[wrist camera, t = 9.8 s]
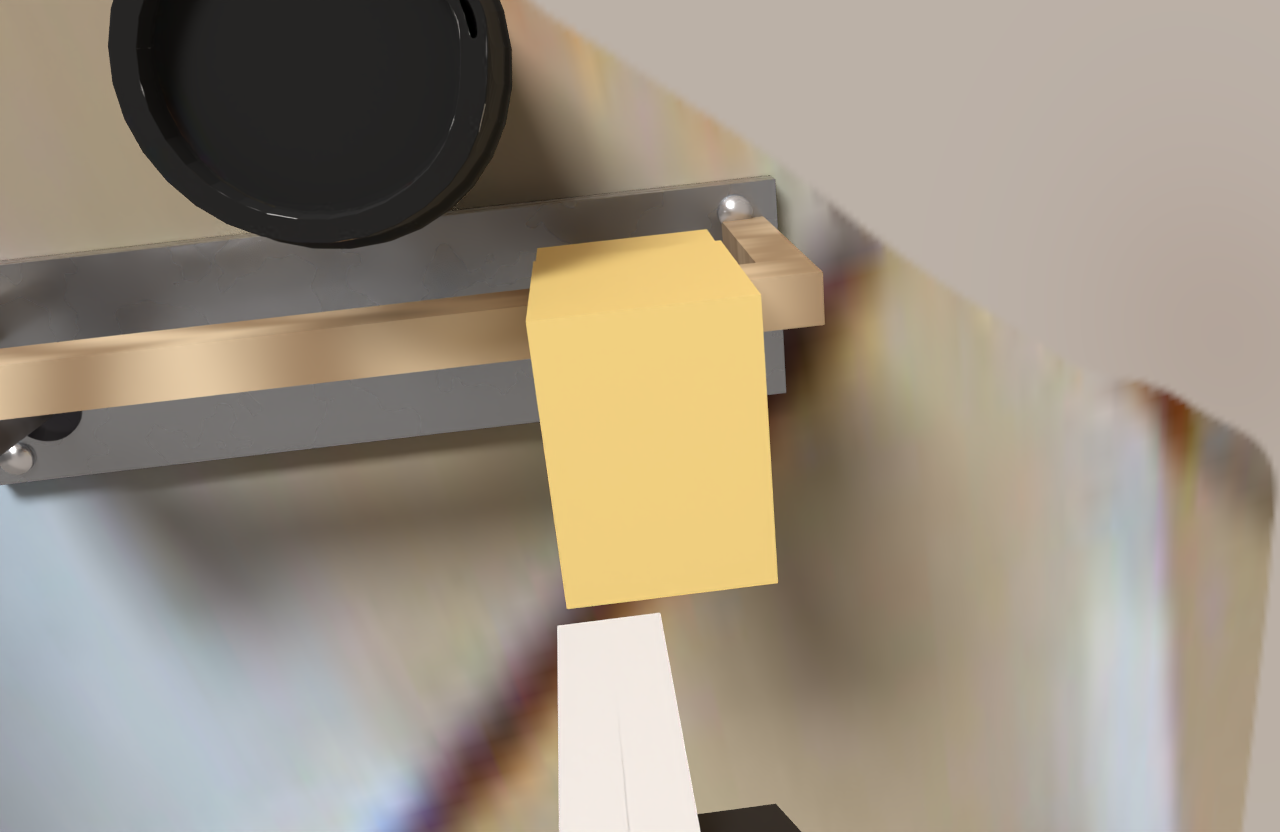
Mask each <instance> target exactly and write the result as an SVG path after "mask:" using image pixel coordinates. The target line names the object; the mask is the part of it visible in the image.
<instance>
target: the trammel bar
mask: <svg viewBox="0 0 1280 832" xmlns="http://www.w3.org/2000/svg"><path fill="white" fill-rule="evenodd" d="M722 237H723V244H724V245H725V247H726V248H727V249H728V251H729V252H730V253H731V255H732V256H733V258H734V259H735V260H736V262H737V263H738V264H739V266H740V267H741V268H742V270H743V271H744V272H745V274H746V275H747V276H748V278H749V279H750V280H751V282H752V283H753V284H754V286H755V287H756V288H757V290H758V291H759V292H760V294H761V301H762V318H763V332H766V331H775V330H784V329H792V328H801V327H810V326H818V325H825V321H824V293H823V272H822V271H821V270H820V269H819V268H818V267H817V266H816V265H815V264H814V263H813V262H811V261H810V260H809V259H808V258H807V257H806V256H805V255H804V254H803V253H802V252H801V251H800V250H799V249H798V248H797V247H795V246H794V245H793V244H792V243H791V242H790V241H789V240H788V239H787V238H786V237H785V236H784V235H783V234H782V233H781V232H779V231H778V230H777V229H776V228H775V227H774V226H773V225H772V224H771V223H770V222H769V221H768V220H767V219H766V218H765V217H763V216H761V217H752V218H751V219H744V220H735V221H726V222H722ZM529 292H530V288H529V289H520V290H512V291H503V292H494V293H485V294H476V295H468V296H459V297H450V298H441V299H432V300H424V301H415V302H406V303H397V304H388V305H380V306H371V307H362V308H353V309H344V310H336V311H327V312H318V313H309V314H300V315H291V316H283V317H274V318H265V319H256V320H247V321H239V322H230V323H221V324H212V325H203V326H195V327H186V328H177V329H168V330H159V331H151V332H142V333H133V334H124V335H115V336H107V337H98V338H89V339H80V340H71V341H63V342H54V343H45V344H36V345H27V346H19V347H10V348H1V349H0V420H1V421H0V456H1V455H2V454H4V453H5V452H6V451H8V450H9V449H10V448H12V447H13V446H14V445H16V444H17V443H18V442H20V441H21V440H22V439H24V438H25V437H26V436H27V435H29V434H30V433H31V432H33V431H34V430H35V429H37V428H38V427H39V426H41V425H42V424H43V423H45V422H46V421H47V420H49V419H50V418H51V417H52V416H53V415H54V414H57V413H66V412H75V411H83V410H92V409H101V408H109V407H118V406H126V405H135V404H144V403H152V402H161V401H170V400H178V399H187V398H196V397H204V396H213V395H222V394H230V393H239V392H248V391H256V390H265V389H273V388H282V387H291V386H299V385H308V384H317V383H325V382H334V381H343V380H351V379H360V378H369V377H377V376H386V375H395V374H403V373H412V372H420V371H429V370H438V369H446V368H455V367H464V366H472V365H481V364H490V363H498V362H507V361H516V360H524V359H531V355H530V348H529V341H528V334H527V328H526V315H527V307H528V299H529Z"/></svg>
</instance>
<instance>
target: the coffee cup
mask: <svg viewBox="0 0 1280 832" xmlns="http://www.w3.org/2000/svg"><path fill="white" fill-rule="evenodd" d="M108 49H109V57H110V66H111V74H112V82H113V86H114V89H115V92H116V95H117V98H118V101H119V104H120V107H121V110H122V113H123V116H124V119H125V121H126V123H127V125H128V126H129V128H130V130H131V132H132V133H133V135H134V137H135V139H136V141H137V142H138V144H139V146H140V148H141V149H142V151H143V153H144V154H145V155H146V156H147V158H148V159H149V160H150V161H151V162H152V164H153V165H154V166H155V167H156V168H157V170H158V171H159V172H160V173H161V174H162V176H163V177H164V178H165V179H166V180H167V182H169V183H170V184H171V185H172V186H173V187H175V188H176V189H177V190H178V191H179V192H180V193H182V194H183V195H184V196H185V197H186V198H187V199H189V200H190V201H191V202H192V203H193V204H194V205H196V206H197V207H199V208H201V209H203V210H204V211H206V212H208V213H209V214H211V215H213V216H214V217H216V218H218V219H220V220H221V221H223V222H225V223H226V224H229V225H231V226H234V227H237V228H240V229H242V230H245V231H248V232H250V233H253V234H256V235H259V236H261V237H267V238H269V239H272V240H274V241H277V242H282V243H287V244H292V245H297V246H303V247H308V248H313V249H353V248H359V247H364V246H370V245H375V244H381V243H386V242H390V241H393V240H395V239H398V238H400V237H403V236H405V235H408V234H410V233H413V232H415V231H417V230H420V229H422V228H424V227H425V226H427V225H428V224H430V223H431V222H433V221H434V220H436V219H437V218H439V217H440V216H442V215H443V214H445V213H446V212H448V211H449V210H450V209H451V208H452V207H453V206H454V205H455V204H456V203H457V202H458V201H459V200H460V199H461V198H462V197H463V196H464V195H465V194H466V193H467V192H468V191H469V190H470V189H471V188H472V187H473V186H474V185H475V183H476V182H477V180H478V179H479V177H480V176H481V174H482V173H483V171H484V169H485V168H486V166H487V165H488V163H489V162H490V160H491V159H492V157H493V155H494V152H495V150H496V147H497V145H498V142H499V139H500V137H501V134H502V132H503V129H504V126H505V124H506V119H507V113H508V107H509V102H510V96H511V90H512V49H511V44H510V39H509V34H508V29H507V24H506V19H505V14H504V10H503V7H502V5H501V2H500V0H113V3H112V7H111V14H110V27H109V41H108Z"/></svg>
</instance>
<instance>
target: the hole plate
mask: <svg viewBox="0 0 1280 832" xmlns="http://www.w3.org/2000/svg"><path fill="white" fill-rule="evenodd" d="M761 216H763V217H765V218H766V219H767V220H768V221H769V222H770V223H771V224H772V225H773V226H774V227H775V228H776V229H777V230H778V222H777V203H776V183H775V179H774V178H773V177H772V176H770V175H768V176H759V177H750V178H741V179H732V180H723V181H714V182H705V183H696V184H687V185H678V186H669V187H660V188H651V189H642V190H633V191H624V192H615V193H606V194H597V195H588V196H579V197H570V198H561V199H552V200H543V201H534V202H525V203H516V204H507V205H498V206H489V207H480V208H471V209H462V210H453V211H448V212H446V213H445V214H443V215H442V216H440V217H439V218H437V219H436V220H434V221H433V222H431V223H430V224H428V225H427V226H425V227H424V228H422V229H420V230H417V231H415V232H413V233H410V234H408V235H405V236H403V237H400V238H398V239H395V240H393V241H390V242H386V243H381V244H375V245H370V246H364V247H359V248H353V249H313V248H308V247H303V246H297V245H292V244H287V243H282V242H277V241H274V240H272V239H269V238H267V237H261V236H259V235H256V234H253V233H246V234H237V235H228V236H219V237H210V238H201V239H192V240H183V241H174V242H165V243H156V244H147V245H138V246H129V247H120V248H111V249H102V250H93V251H84V252H75V253H66V254H57V255H48V256H39V257H30V258H21V259H12V260H3V261H0V349H1V348H10V347H19V346H27V345H36V344H45V343H54V342H63V341H71V340H80V339H89V338H98V337H107V336H115V335H124V334H133V333H142V332H151V331H159V330H168V329H177V328H186V327H195V326H203V325H212V324H221V323H230V322H239V321H247V320H256V319H265V318H274V317H283V316H291V315H300V314H309V313H318V312H327V311H336V310H344V309H353V308H362V307H371V306H380V305H388V304H397V303H406V302H415V301H424V300H432V299H441V298H450V297H459V296H468V295H476V294H485V293H494V292H503V291H512V290H520V289H529V288H530V284H531V276H532V268H533V261H536V255H537V248H544V247H553V246H561V245H570V244H579V243H588V242H597V241H606V240H615V239H624V238H633V237H641V236H650V235H659V234H668V233H677V232H686V231H695V230H704V229H707V230H708V232H709V233H710V234H711V236H712V237H713V239H714V240H715V241H719V240H721V241H722V243H723V237H722V222H726V221H735V220H744V219H751V218H752V217H761ZM763 335H764V352H765V369H766V386H767V395H771V394H780V393H786V378H785V359H784V339H783V330H775V331H766V332H763ZM0 421H1V420H0ZM533 422H540V418H539V411H538V404H537V397H536V390H535V383H534V376H533V369H532V362H531V359H524V360H516V361H507V362H498V363H490V364H481V365H472V366H464V367H455V368H446V369H438V370H429V371H420V372H412V373H403V374H395V375H386V376H377V377H369V378H360V379H351V380H343V381H334V382H325V383H317V384H308V385H299V386H291V387H282V388H273V389H265V390H256V391H248V392H239V393H230V394H222V395H213V396H204V397H196V398H187V399H178V400H170V401H161V402H152V403H144V404H135V405H126V406H118V407H109V408H101V409H92V410H83V411H75V412H66V413H57V414H54V415H53V416H52V417H51V418H50V419H49V420H47V421H46V422H45V423H43V424H42V425H41V426H39V427H38V428H37V429H35V430H34V431H33V432H31V433H30V434H29V435H27V436H26V437H25V438H24V439H22V440H21V441H20V442H18V443H17V444H16V445H14V446H13V447H12V448H10V449H9V450H8V451H6V452H5V453H4V454H2V455H1V456H0V485H6V484H14V483H23V482H31V481H40V480H48V479H57V478H65V477H74V476H82V475H91V474H99V473H108V472H116V471H125V470H133V469H142V468H150V467H159V466H167V465H176V464H184V463H193V462H201V461H210V460H218V459H227V458H235V457H244V456H252V455H261V454H269V453H278V452H286V451H295V450H303V449H312V448H320V447H329V446H337V445H346V444H354V443H363V442H371V441H380V440H388V439H397V438H405V437H414V436H423V435H431V434H440V433H448V432H457V431H465V430H474V429H482V428H491V427H499V426H508V425H516V424H525V423H533Z"/></svg>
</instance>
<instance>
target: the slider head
mask: <svg viewBox="0 0 1280 832" xmlns="http://www.w3.org/2000/svg"><path fill="white" fill-rule="evenodd" d="M526 328H527V334H528V341H529V348H530V355H531V362H532V369H533V376H534V383H535V390H536V397H537V404H538V411H539V418H540V425H541V432H542V439H543V446H544V453H545V460H546V467H547V474H548V481H549V488H550V495H551V502H552V509H553V516H554V523H555V530H556V537H557V543H558V550H559V557H560V564H561V571H562V578H563V585H564V592H565V599H566V606H567V609H572V608H580V607H588V606H596V605H604V604H613V603H621V602H629V601H637V600H645V599H653V598H661V597H669V596H677V595H686V594H694V593H702V592H710V591H718V590H726V589H734V588H742V587H751V586H759V585H767V584H775V583H778V574H777V557H776V540H775V523H774V506H773V489H772V472H771V455H770V438H769V420H768V403H767V386H766V369H765V352H764V335H763V318H762V301H761V294H760V292H759V291H758V290H757V288H756V287H755V286H754V284H753V283H752V282H751V280H750V279H749V278H748V276H747V275H746V274H745V272H744V271H743V270H742V268H741V267H740V266H739V264H738V263H737V262H736V260H735V259H734V258H733V256H732V255H731V253H730V252H729V251H728V249H727V248H726V247H725V245H724V244H723V243H722V241H721V240H719V241H715V240H714V239H713V237H712V236H711V234H710V233H709V232H708V230H707V229H704V230H695V231H686V232H677V233H668V234H659V235H650V236H641V237H633V238H624V239H615V240H606V241H597V242H588V243H579V244H570V245H561V246H553V247H544V248H537V255H536V261H533V268H532V276H531V284H530V292H529V299H528V307H527V315H526Z"/></svg>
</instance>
